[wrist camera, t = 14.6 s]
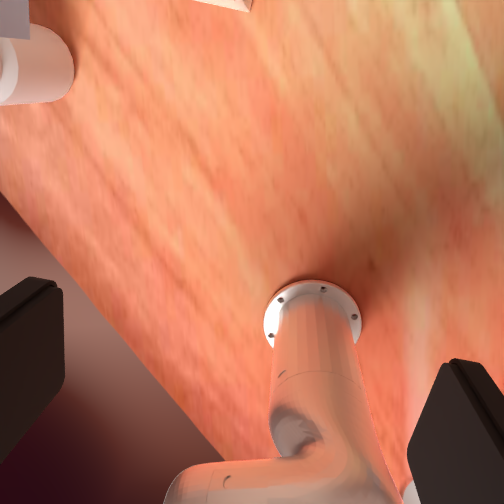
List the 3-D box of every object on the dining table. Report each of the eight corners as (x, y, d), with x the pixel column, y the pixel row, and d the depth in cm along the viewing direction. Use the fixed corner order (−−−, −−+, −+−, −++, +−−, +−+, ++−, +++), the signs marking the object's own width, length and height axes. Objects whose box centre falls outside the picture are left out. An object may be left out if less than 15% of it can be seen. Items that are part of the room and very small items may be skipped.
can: (14, 95, 45) (-77, 98, 34) (9, 19, 42) (-93, -4, 31) (78, 107, 45) (8, 115, 34) (78, 32, 42) (1, 14, 31)
